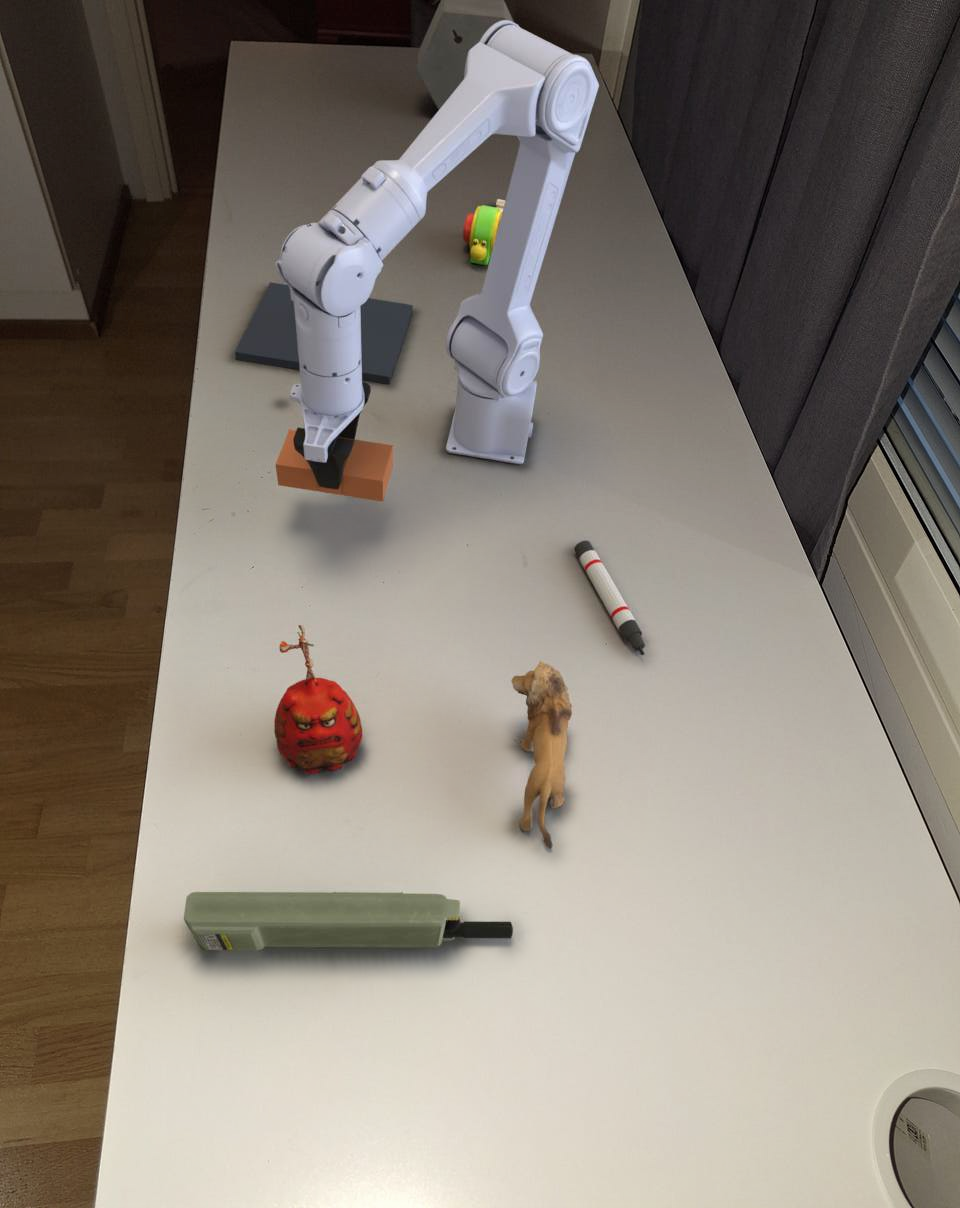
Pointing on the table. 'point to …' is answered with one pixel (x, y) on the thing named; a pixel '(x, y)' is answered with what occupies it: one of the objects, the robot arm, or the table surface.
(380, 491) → the orange brown rectangular block
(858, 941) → the table surface
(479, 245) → the toy measuring tape
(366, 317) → the dark gray base plate
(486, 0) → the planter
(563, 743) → the lion figurine
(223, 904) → the handheld radio
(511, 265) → the robot arm
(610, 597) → the marker
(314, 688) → the red clay folk toy
